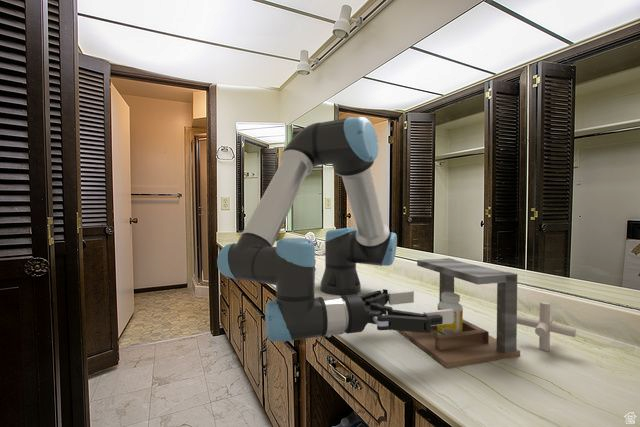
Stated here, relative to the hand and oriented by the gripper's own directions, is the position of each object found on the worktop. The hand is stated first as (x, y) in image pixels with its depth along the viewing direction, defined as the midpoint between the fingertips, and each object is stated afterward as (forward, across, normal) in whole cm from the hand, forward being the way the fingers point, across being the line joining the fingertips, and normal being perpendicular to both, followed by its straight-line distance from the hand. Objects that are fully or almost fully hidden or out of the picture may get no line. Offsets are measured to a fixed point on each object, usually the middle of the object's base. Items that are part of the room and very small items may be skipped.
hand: (430, 305), depth 65 cm
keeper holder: (+5, 0, -9) cm, 10 cm away
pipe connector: (+22, +9, -9) cm, 26 cm away
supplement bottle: (+5, 0, -8) cm, 9 cm away
